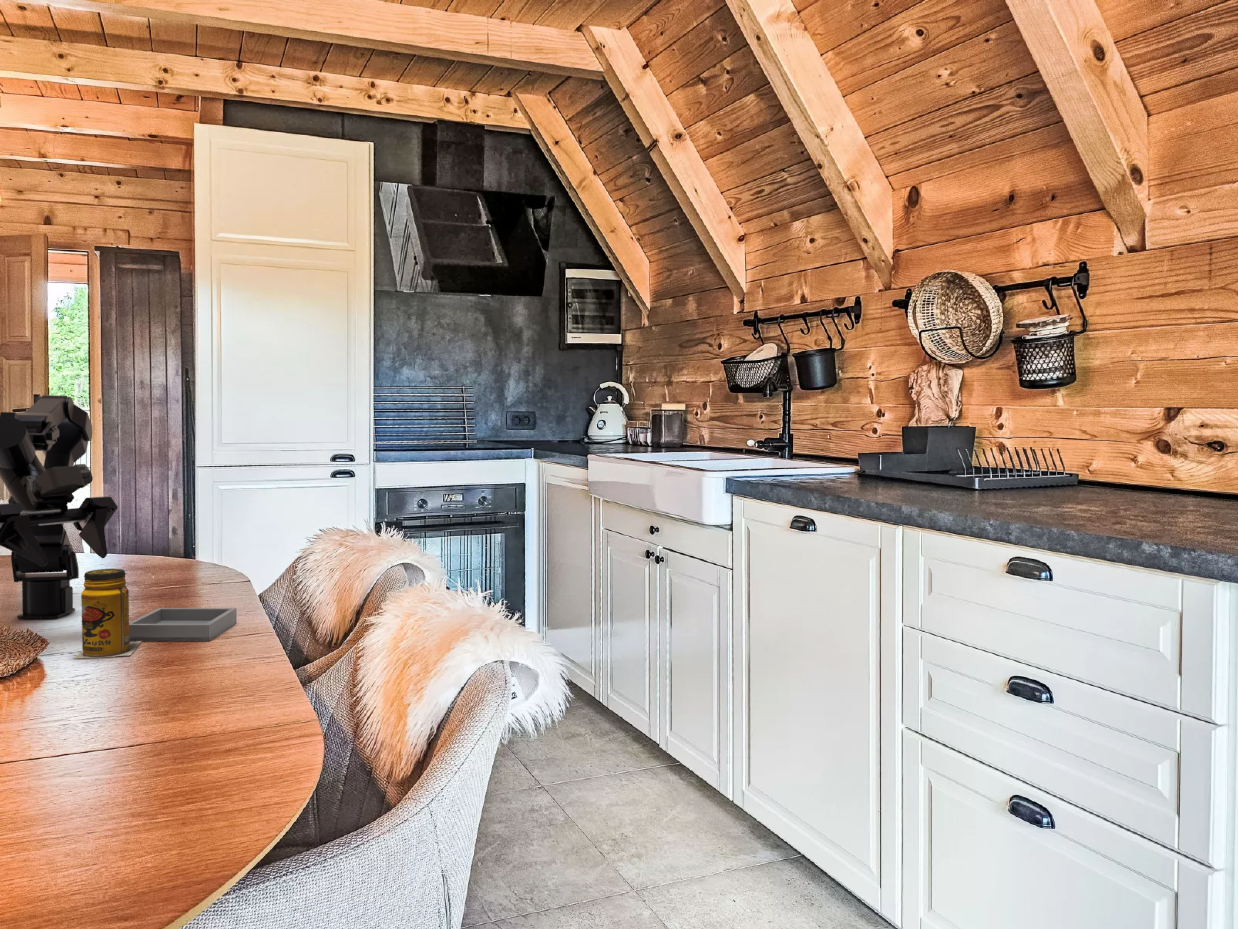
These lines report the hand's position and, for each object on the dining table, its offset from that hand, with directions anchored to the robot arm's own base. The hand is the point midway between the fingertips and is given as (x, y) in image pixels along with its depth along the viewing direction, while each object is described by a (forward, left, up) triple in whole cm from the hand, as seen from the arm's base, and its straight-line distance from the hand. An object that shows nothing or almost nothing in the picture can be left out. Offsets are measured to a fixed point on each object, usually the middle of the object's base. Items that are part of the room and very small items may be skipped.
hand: (76, 560), depth 138 cm
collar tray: (+12, +9, -13) cm, 20 cm away
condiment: (+6, -3, -13) cm, 15 cm away
